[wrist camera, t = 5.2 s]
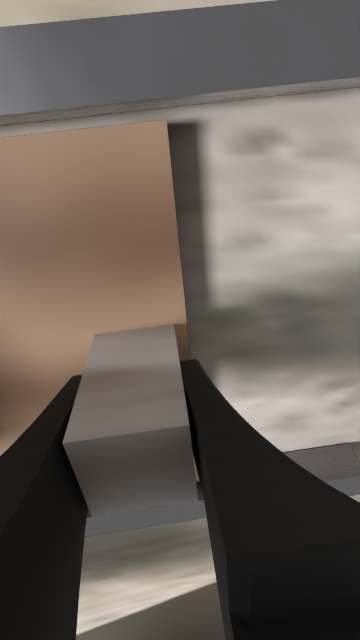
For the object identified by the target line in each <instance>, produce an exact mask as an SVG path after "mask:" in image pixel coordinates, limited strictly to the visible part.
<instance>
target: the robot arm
mask: <svg viewBox="0 0 360 640" xmlns="http://www.w3.org/2000/svg"><path fill="white" fill-rule="evenodd" d="M180 367H181V374H182V380H183V387H184V393H185V400H186V406H187V413H188V419H189V426H190V435H191V443H192V452H193V457H194V461H195V465H196V469H197V473H198V477H199V482H200V486H201V490H202V494H203V499H204V504H205V509H206V515H207V522H208V528H209V534H210V541H211V547H212V554H213V560H214V567H215V573H216V580H217V586H218V593H219V599H220V605H221V612H222V619H223V626H224V632H225V639H226V640H360V503H359V502H358V501H356V500H354V499H353V498H351V497H349V496H347V495H346V494H344V493H342V492H340V491H339V490H337V489H335V488H334V487H332V486H330V485H328V484H327V483H325V482H324V481H322V480H321V479H319V478H318V477H316V476H315V475H313V474H312V473H310V472H309V471H307V470H306V469H304V468H303V467H302V466H300V465H299V464H298V463H296V462H295V461H294V460H292V459H291V458H289V457H288V456H287V455H285V454H284V453H283V452H281V451H280V450H279V449H277V448H276V447H275V446H274V445H272V444H271V443H270V442H269V441H268V440H266V439H265V438H264V437H263V436H262V435H261V434H260V433H258V432H257V431H256V430H255V429H254V428H253V427H252V426H251V425H250V424H249V423H248V422H247V421H246V420H245V419H244V418H243V417H242V416H241V415H240V414H239V413H238V412H237V411H236V410H235V409H234V408H233V407H232V406H231V405H230V404H229V402H228V401H227V400H226V399H225V398H224V397H223V395H222V394H221V393H220V392H219V391H218V389H217V388H216V387H215V385H214V384H213V383H212V381H211V380H210V379H209V377H208V376H207V374H206V373H205V371H204V370H203V368H202V366H201V365H200V363H199V361H198V360H196V359H194V360H186V361H180ZM82 375H83V374H82ZM82 375H75V376H72V377H71V378H70V379H69V381H68V382H67V383H66V384H65V385H64V387H63V388H62V389H61V390H60V391H59V393H58V394H57V395H56V396H55V397H54V399H53V400H52V401H51V402H50V403H49V405H48V406H47V407H46V408H45V409H44V410H43V412H42V413H41V414H40V415H39V416H38V417H37V418H36V420H35V421H34V422H33V423H32V424H31V425H30V426H29V427H28V428H27V429H26V430H25V431H24V432H23V433H22V435H21V436H20V437H19V438H18V439H17V440H16V441H15V442H14V443H13V444H12V445H11V446H10V447H9V448H8V449H7V450H6V451H5V452H4V453H3V454H2V455H1V456H0V640H76V628H77V614H78V600H79V588H80V577H81V566H82V555H83V546H84V536H85V527H86V520H87V514H88V505H87V503H86V500H85V498H84V495H83V493H82V491H81V488H80V486H79V483H78V481H77V478H76V476H75V473H74V471H73V468H72V466H71V463H70V461H69V458H68V456H67V453H66V451H65V448H64V446H63V444H62V443H63V439H64V436H65V433H66V429H67V426H68V422H69V419H70V416H71V412H72V409H73V405H74V402H75V399H76V395H77V392H78V388H79V385H80V382H81V378H82Z"/></svg>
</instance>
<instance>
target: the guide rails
mask: <svg viewBox="0 0 360 640" xmlns="http://www.w3.org/2000/svg"><path fill="white" fill-rule="evenodd" d="M354 87H360V0H276V1H266V2H256V3H245V4H235V5H225V6H214V7H204V8H194V9H183V10H173V11H163V12H152V13H142V14H132V15H121V16H111V17H101V18H90V19H80V20H70V21H59V22H49V23H39V24H28V25H18V26H8V27H0V125H9V124H19V123H28V122H37V121H46V120H56V119H65V118H74V117H84V116H93V115H102V114H112V113H121V112H130V111H140V110H149V109H158V108H168V107H177V106H186V105H195V104H205V103H214V102H223V101H233V100H242V99H251V98H261V97H270V96H279V95H289V94H298V93H307V92H317V91H326V90H335V89H344V88H354ZM284 454H285V455H287V456H288V457H289V458H291V459H292V460H294V461H295V462H296V463H298V464H299V465H300V466H302V467H303V468H304V469H306V470H307V471H309V472H310V473H312V474H313V475H315V476H316V477H318V478H319V479H321V480H322V481H324V482H325V483H327V484H328V485H330V486H332V487H334V488H335V489H337V490H339V491H340V492H342V493H344V494H346V495H347V496H353V495H360V460H359V459H358V457H357V456H356V454H355V453H354V451H353V450H352V449H351V447H350V446H349V444H348V443H347V444H340V445H333V446H327V447H320V448H313V449H306V450H299V451H293V452H286V453H284ZM196 486H197V494H198V501H194V502H187V503H180V504H174V505H167V506H161V507H154V508H147V509H141V510H134V511H127V512H121V513H114V514H108V515H101V516H94V517H92V515H91V513H90V510H89V508H88V514H87V520H86V527H85V536H92V535H99V534H105V533H112V532H118V531H125V530H131V529H138V528H144V527H151V526H157V525H164V524H170V523H177V522H183V521H190V520H196V519H203V518H207V515H206V509H205V504H204V499H203V494H202V490H201V486H200V482H199V481H196ZM85 536H84V537H85Z"/></svg>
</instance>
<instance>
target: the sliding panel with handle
mask: <svg viewBox="0 0 360 640" xmlns="http://www.w3.org/2000/svg"><path fill="white" fill-rule="evenodd" d="M186 360H191V358H190V348H189V338H188V328H187V318H186V308H185V299H184V289H183V279H182V269H181V259H180V249H179V239H178V229H177V219H176V209H175V199H174V189H173V179H172V169H171V159H170V149H169V139H168V129H167V120H159V121H149V122H140V123H131V124H122V125H113V126H103V127H94V128H85V129H76V130H67V131H57V132H48V133H39V134H30V135H21V136H11V137H2V138H0V456H1V455H2V454H3V453H4V452H5V451H6V450H7V449H8V448H9V447H10V446H11V445H12V444H13V443H14V442H15V441H16V440H17V439H18V438H19V437H20V436H21V435H22V433H23V432H24V431H25V430H26V429H27V428H28V427H29V426H30V425H31V424H32V423H33V422H34V421H35V420H36V418H37V417H38V416H39V415H40V414H41V413H42V412H43V410H44V409H45V408H46V407H47V406H48V405H49V403H50V402H51V401H52V400H53V399H54V397H55V396H56V395H57V394H58V393H59V391H60V390H61V389H62V388H63V387H64V385H65V384H66V383H67V382H68V381H69V379H70V378H71V377H72V376H75V375H82V374H83V375H82V378H81V382H80V385H79V388H78V392H77V395H76V399H75V402H74V405H73V409H72V412H71V416H70V419H69V422H68V426H67V429H66V433H65V436H64V439H63V443H62V444H63V446H64V448H65V451H66V453H67V456H68V458H69V461H70V463H71V466H72V468H73V471H74V473H75V476H76V478H77V481H78V483H79V486H80V488H81V491H82V493H83V495H84V498H85V500H86V503H87V505H88V508H89V510H90V513H91V515H92V517H94V516H101V515H108V514H114V513H121V512H127V511H134V510H141V509H147V508H154V507H161V506H167V505H174V504H180V503H187V502H194V501H198V494H197V486H196V481H199V477H198V473H197V469H196V465H195V461H194V457H193V452H192V443H191V435H190V426H189V419H188V413H187V406H186V400H185V393H184V387H183V380H182V374H181V367H180V361H186Z"/></svg>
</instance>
